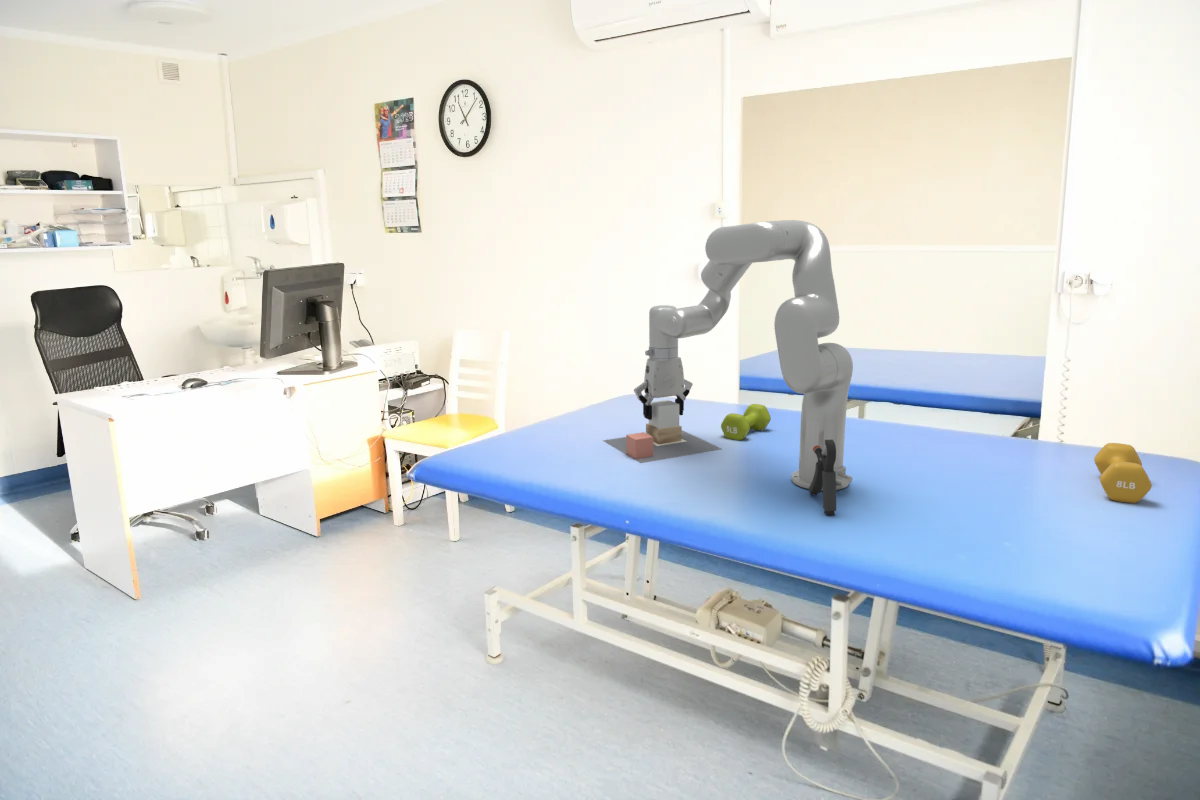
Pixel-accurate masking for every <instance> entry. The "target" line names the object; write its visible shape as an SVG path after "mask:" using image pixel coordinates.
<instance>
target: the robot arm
mask: <svg viewBox="0 0 1200 800" xmlns="http://www.w3.org/2000/svg"><path fill="white" fill-rule="evenodd" d="M704 246H705V247H704V248H705V255H706V257H707V258H708V262H707V264H705V266H704V267H703V268H702V270H701V272H700V278H701V281H702V283H703V284H704V286H705V287H706V288H707V289H708V291H707V293H706V294H705V296H704V297H703V298H702V300H701V301H700V302H699V303H698V304H697V305H691V306H686V307H685V306H684V307H679V308H677V307H676V306H673V305H668V304H667V305H666V304H665V305H664V304H663V305H654V306H652V307H650V309H649V313H648V315H649V318H648V319H649V321H648V322H649V323H648V325H649V326H648V328H649V331H648V334H649V336H648V339H649V341H648V343H649V345H648V350H645V351H644V353H645V356H648V358H647V359H646V362H645V363H646V364H645V370H644V380H643V381H644V382H642V383H641V384H640V385H638V386H636V387H635V388H634V389H633V392H634V394H635V396H636V398H637V400H638V401H640V403H641V404H642V411H643V412H642V415H643V417H644V418H645V419H646V420H648V421H649V420H651V419H652V405H650V403H651V402H653V400H654V399H659V398H668V397H676V398H675V400H674V402H675V403H677V404H679V416H683V415H684V410H685V409H684V408H685V405H684V403H685V401H686V399H687V396H688V395H689V394H690V391H691V389H692V387H693V382H691V381H689V380H687V379H685V375H684V367H683V366H684V365H683V362H682V358H681V357H680V356H679V339H685V338H689V337H694V336H700V335H704V334H707V333H709V332H711V331H712V330H713V329H714V328H715V327H716V326H717V325H718V323H719V322H720V321H721V320H722V319H723V317H724V316H725V314H726V313H727V312H728V309H729V306H730V302H731V298H732V297H731V296H732V294H731V292H732V290H733V289H734V287H736V285H737V284H738V283H739V281H740V279H741V278H742V277H743V276H744V274H746V271H748V269H749V267H751V265H752V264H754V263H755V264H756V263H764V262H765V263H767V262H774V261H775V262H776V261H783V260H792V261H794V265H793V269H792V275H791V276H792V278H791V279H792V285H793V292H794V297H790V298H789V299H787V300H785V301H784V302H783V303H781V304H780V306H779V307H778V309H777V310H776V313H775V317H774V324H773V326H774V334H775V340H776V341H775V342H776V347H777V354H778V361H779V367H780V371H781V375H782V379H783V380H784V382H785V384H786V385H787V387H788V388H789V389H791V391H793V392H795V393H797V394H802V396H803V397H802V401H801V414H800V435H799V436H800V437H799V454H798V455H799V456H798V460H799V461H798V469H797V470H795V471H794V472H792V474H791V481H792V483H793V484H794V485H796V486H798V487H801V488H804V489H808V490H809V487H810V485H811V483H812V480H813V477H814V474H815V468H816V463H817V462H818V458H817V455H816V454H815V453H814V451H813V447H814V446H817V445H818V446H820V447H821V449H822V451H823V449H824V447H825V440H833V441H834V443H835V446H836V460H835V463H834V471H835V472H836V491H839V490H842V489H845V488H847V487H849V485H850V483H852V481H853V477H852V476H851V475H848V474H846V473H847V472H846V471H847V467H846V466H845V465H844V457H845V456H844V453H845V439H846V438H845V433H846V417H847V403H848V396H849V390H850V385H851V381H852V376H853V369H854V365H853V363H854V362H853V359H852V356H851V354H850V352H849V351H848V350H847V349H846V347H844V346H843V345H841V344H838V343H836V342H825V343H819V339H820V338H823V337H827V336H829V335H832V334H833V333H834V332H835V331H837V329H838V327H839V324H840V311H839V304H838V297H837V293H836V292H837V291H836V286H835V285H836V284H835V279H834V275H833V269H832V259H831V258H832V257H831V249H830V243H829V240H828V238H827V236H826V234H825V232H824V231H823V230H822V229H821V228H820V227H818V226H817V225H815V224H813V223H811V222H808V221H803V220H795V219H784V220H783V219H782V220H766V221H759V222H757V221H756V222H750V223H742V224H737V225H729V226H721V227H718V228H716V229H714V230H713V231H711V233H710V234H709V236H708V237H707V239H706V242H705V245H704ZM643 391H644V395H643V394H642V393H643ZM826 455H827V454H826ZM821 492H823V487H822V490H821Z"/></svg>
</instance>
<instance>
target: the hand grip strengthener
mask: <svg viewBox="0 0 1200 800" xmlns="http://www.w3.org/2000/svg"><path fill="white" fill-rule="evenodd" d="M813 451H814V453H815V454H816V455H817V458H818V462H817V463H816V468H815V474H814V477H813V480H812V483H811V485H810V487H809V489H808V492H809V494H810V496H817V495H818V494H820V493H821V492H822V509H823V511H824V514H825V515H826V516H835V514H836V513H835V512H837V490H836V472H835V471H834V463H835V460H836V446H835V443H834V441H833V440H825V447H824V449H823V451H822V449H821V447H820V446H818V445H817V446H814V447H813ZM826 454H827V455H826ZM822 487H823V491H821V490H822Z"/></svg>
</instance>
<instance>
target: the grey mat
mask: <svg viewBox="0 0 1200 800" xmlns="http://www.w3.org/2000/svg"><path fill="white" fill-rule="evenodd" d="M602 441H603V442H604V443H605V444H607V445H608V446H611V447H612V448H614V449H616V450H617V451H619V452H621V453H622V454H624V455H626V456H628V457H629V458H631V459H632V460H634V461H636V462H638V463H639V464H643V463H649V462H650V463H651V462H655V461H663V460H668V459H675V458H681V457H686V456H692V455H697V454H703V453H709V452H714V451H721V450H722V451H723V448H721V447H719V446H717V445H715V444H712V443H710V442H708V441H706V440H704V439H702V438H699V437H698V436H695V435H694V434H691V433H689V432H687V431H685V430H682V441H677V442H671V443H665V444H657V443H655V442H653V456H651V457H645V458H639V459H635V458H633V457H631V456H630V455H628V454H627V445H626V436H624V437H623V436H622V437H618V438H617V437H616V438H611V439H610V438H609V439H604V440H602Z"/></svg>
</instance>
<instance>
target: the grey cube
mask: <svg viewBox="0 0 1200 800" xmlns="http://www.w3.org/2000/svg"><path fill="white" fill-rule="evenodd" d="M650 405H652V419H651V420H648V423H649V424H650V425H652V426H654V427H656V428H658V429H664V428H671V427H677V426H679V425H680V415H679V404H677V403H675V401H672V400H670V399H661V400H656V401H655V400H654V401H652V402H651V403H650Z"/></svg>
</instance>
